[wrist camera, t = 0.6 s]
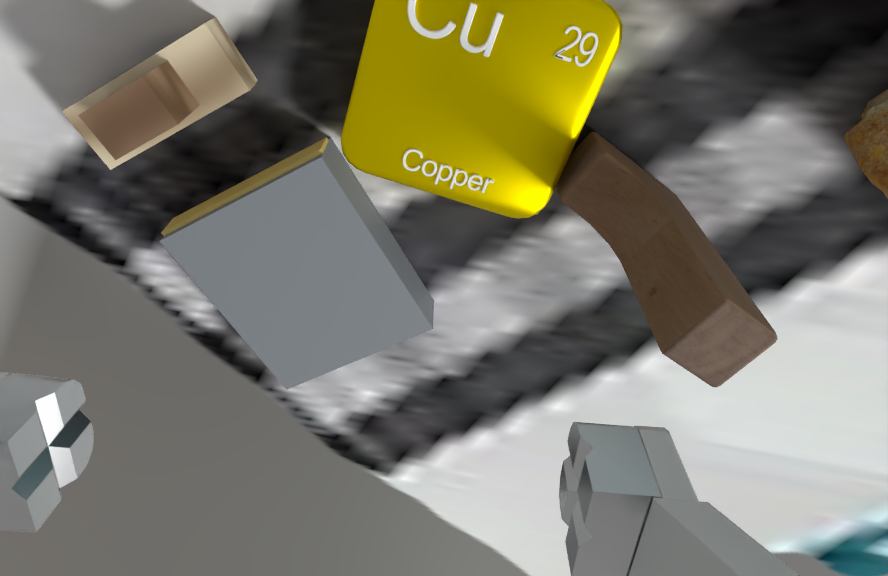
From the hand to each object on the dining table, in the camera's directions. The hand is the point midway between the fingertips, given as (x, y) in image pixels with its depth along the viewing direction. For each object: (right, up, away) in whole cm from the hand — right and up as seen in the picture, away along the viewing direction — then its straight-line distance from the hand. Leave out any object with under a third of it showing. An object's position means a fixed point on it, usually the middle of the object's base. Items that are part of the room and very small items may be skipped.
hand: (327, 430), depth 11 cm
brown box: (-17, +15, +31) cm, 38 cm away
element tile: (+4, +17, +34) cm, 38 cm away
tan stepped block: (-17, +16, +34) cm, 41 cm away
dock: (-9, +5, +41) cm, 42 cm away
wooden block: (+15, +10, +37) cm, 41 cm away
